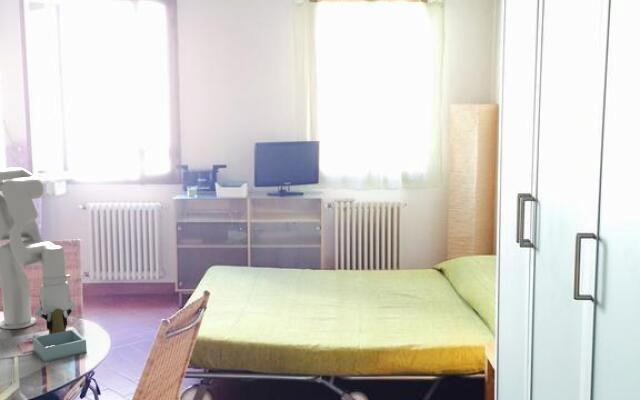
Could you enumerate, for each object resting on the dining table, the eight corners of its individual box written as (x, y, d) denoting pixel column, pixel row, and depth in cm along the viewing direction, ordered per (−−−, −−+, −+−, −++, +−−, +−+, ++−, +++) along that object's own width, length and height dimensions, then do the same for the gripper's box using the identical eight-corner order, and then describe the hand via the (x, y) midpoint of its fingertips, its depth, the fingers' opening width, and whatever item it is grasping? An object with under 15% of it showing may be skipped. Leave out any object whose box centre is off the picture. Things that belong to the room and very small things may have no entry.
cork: (60, 338, 238) (58, 309, 236) (45, 337, 239) (43, 307, 237) (69, 332, 244) (68, 303, 242) (54, 331, 245) (53, 302, 243)
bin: (33, 350, 228) (32, 337, 227) (74, 341, 236) (73, 329, 236) (44, 362, 217) (43, 349, 217) (86, 352, 225) (85, 339, 225)
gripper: (74, 274, 246) (77, 321, 249) (26, 281, 236) (30, 331, 239) (81, 278, 240) (84, 327, 243) (32, 286, 230) (35, 337, 233)
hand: (57, 328), depth 241 cm, fingers closed on cork, 4 cm apart
